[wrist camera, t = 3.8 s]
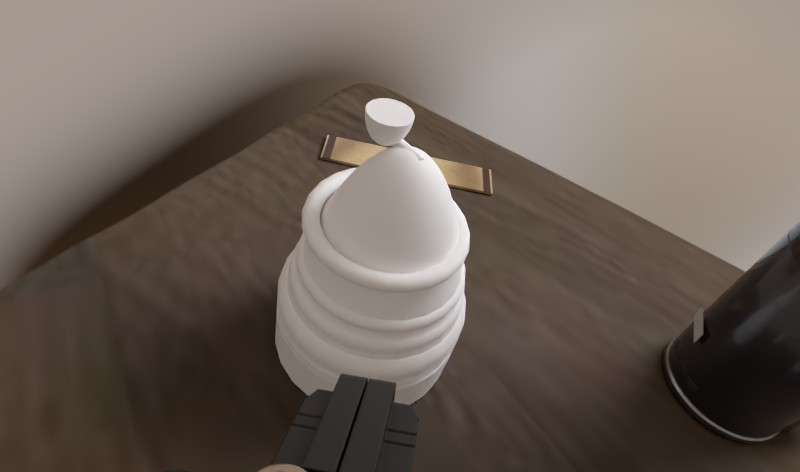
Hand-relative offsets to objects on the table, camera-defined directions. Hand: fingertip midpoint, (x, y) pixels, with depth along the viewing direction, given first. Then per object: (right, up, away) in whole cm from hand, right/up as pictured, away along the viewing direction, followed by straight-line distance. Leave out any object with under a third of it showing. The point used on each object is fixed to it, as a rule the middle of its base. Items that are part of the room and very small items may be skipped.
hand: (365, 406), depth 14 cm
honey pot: (-2, -3, +25) cm, 25 cm away
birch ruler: (+2, +12, +40) cm, 42 cm away
